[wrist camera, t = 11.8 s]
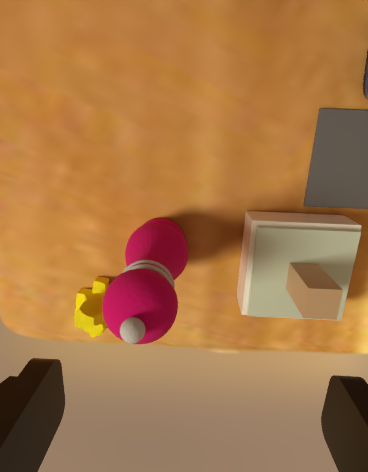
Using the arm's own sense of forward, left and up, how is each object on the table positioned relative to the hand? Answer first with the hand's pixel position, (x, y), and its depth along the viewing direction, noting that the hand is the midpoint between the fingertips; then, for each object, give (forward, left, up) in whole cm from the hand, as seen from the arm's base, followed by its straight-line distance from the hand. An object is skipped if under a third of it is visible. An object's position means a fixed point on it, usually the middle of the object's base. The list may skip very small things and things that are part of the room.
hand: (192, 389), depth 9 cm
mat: (-5, +19, -30) cm, 36 cm away
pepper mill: (+6, -4, -30) cm, 31 cm away
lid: (+8, +13, -26) cm, 30 cm away
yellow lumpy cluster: (+16, -12, -30) cm, 36 cm away
